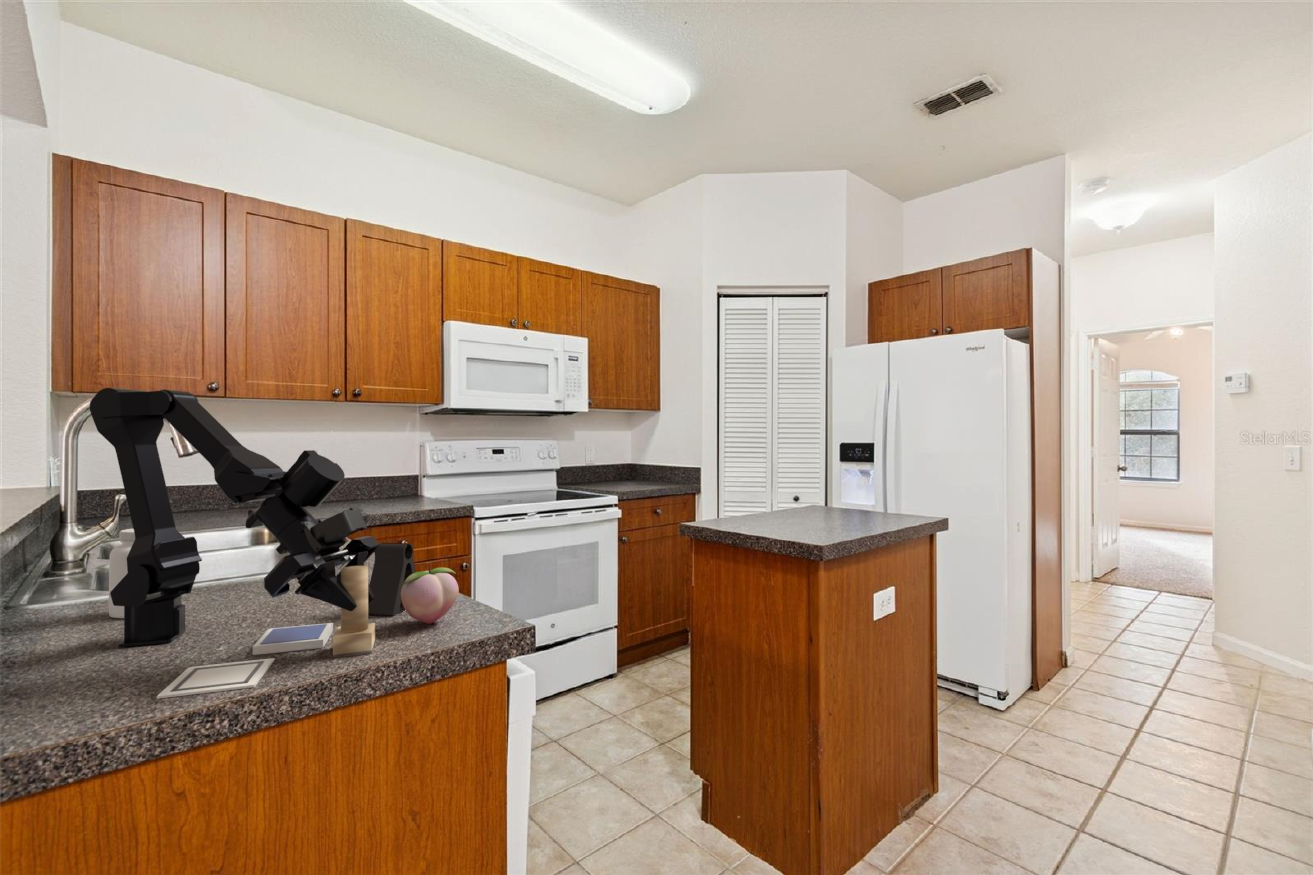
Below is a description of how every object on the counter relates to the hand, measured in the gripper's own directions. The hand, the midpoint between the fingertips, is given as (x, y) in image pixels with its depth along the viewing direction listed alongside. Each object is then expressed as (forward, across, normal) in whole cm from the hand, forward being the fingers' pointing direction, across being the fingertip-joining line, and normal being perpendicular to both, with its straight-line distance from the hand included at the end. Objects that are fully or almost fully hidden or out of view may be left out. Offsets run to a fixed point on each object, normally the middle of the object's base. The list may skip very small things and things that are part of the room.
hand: (363, 605), depth 90 cm
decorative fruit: (+7, +14, +3) cm, 15 cm away
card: (-4, -12, +13) cm, 18 cm away
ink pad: (-4, +2, +14) cm, 14 cm away
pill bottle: (-32, +12, +42) cm, 54 cm away
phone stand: (-1, +21, +11) cm, 24 cm away
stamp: (+4, 0, +6) cm, 7 cm away
